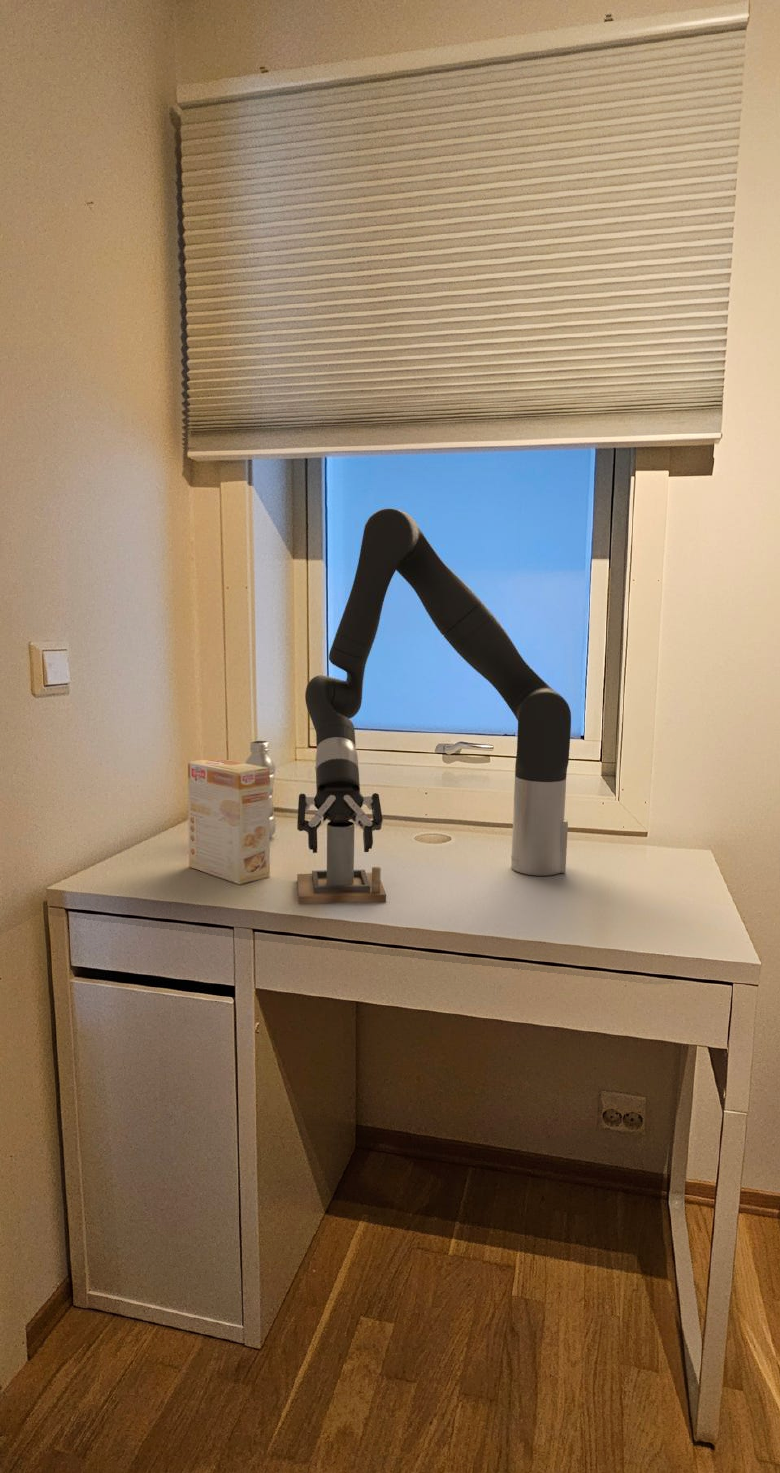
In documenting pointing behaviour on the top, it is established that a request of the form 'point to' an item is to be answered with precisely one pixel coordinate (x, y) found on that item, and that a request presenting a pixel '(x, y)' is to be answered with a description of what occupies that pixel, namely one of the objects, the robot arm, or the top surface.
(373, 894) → the socket board
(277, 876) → the top surface
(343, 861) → the grey hollow cylinder
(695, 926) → the top surface
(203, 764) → the coffeecake box
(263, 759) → the plastic bottle
